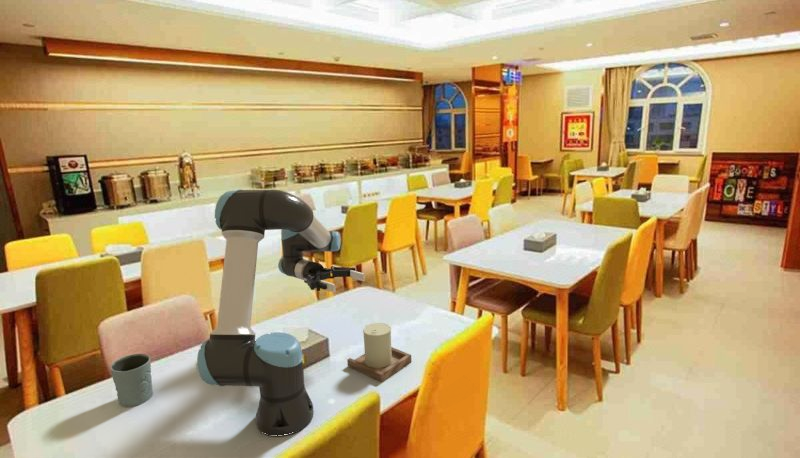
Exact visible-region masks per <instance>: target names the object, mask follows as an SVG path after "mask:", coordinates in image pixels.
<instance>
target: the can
mask: <svg viewBox="0 0 800 458" xmlns="http://www.w3.org/2000/svg"><path fill="white" fill-rule="evenodd" d="M391 327H392V326H391V325H389V324H386V323H383V322H373V323H369V324H367V325H365V326H364V328H363V329H362V331H363V342H364V343H363V345H364V346H363V347H364V348H363V349H364V354H365V364H366V365H367V366H369V367H372V368H383V367H386V366H388V365H390V364H391V362H392V352H391V347H392V331H391V330H392V328H391Z"/></svg>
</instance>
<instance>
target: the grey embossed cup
mask: <svg viewBox="0 0 800 458" xmlns="http://www.w3.org/2000/svg"><path fill="white" fill-rule="evenodd" d="M151 367H152V363H151V356H150V355H149V354H146V353H134V354H128V355H126V356H123V357H120V358H118V359H117V360H115V361H114V362H112V363H111V365H110V366H109V369H110V372H111V376H112V377H111V378H112V380H113V383H114V386H115V391H116V396H117V399H118V403H119V405H120V406H121V407H122V408H132V407H136V406H140V405H142V404H144V403H146V402H148V401H149V400H150V399H151V398H152V396H153V391H154V390H153V383H152V382H153V381H152V374H151V373H152V368H151Z"/></svg>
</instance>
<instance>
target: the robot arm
mask: <svg viewBox="0 0 800 458" xmlns="http://www.w3.org/2000/svg"><path fill="white" fill-rule="evenodd" d="M214 208H215V209H214V219H215V224H216V226H217V228H218V229H219V230H221V236H222V237H223V238H224V239H225V242H226V243H225V251H224V259H223V268H222V279H221V288H220V296H219V306H218V312H217V313H218V315H217V324H216V327H215V328H214V329H213V330H211V332H210V333H209V339H207V340H205V341H203V342H202V343H201V345H200V348H199V350H198V353H197V358H196V360H197V361H196V362H197V363H196V364H197V371H198V374H199V376H200V378H201V379H202V381H203V382H204V383H206V384H207V385H210V386H218V387H226V386H227V387H228V386H229V387H230V386H231V387H258V388H259V395H260V396H259V397H260V398H259V402H258V406H257V411H256V413H255V414H256V415H255V421H256V427H257V429H258V430H259V432H260V433H262V432H263V433H266V434H268V435H267V436H269V435H277V436H276V437H279V436H278V435H284V434H289V433H292V432H296V431H298V430H300V429H301V430H303V429H305V428H306V427H308V425H309V424H310V423H311V422H312V420H313V418H314V412H315V410H314V403H313V402H312V399H311V398H310V395H309V394H308V391H307V389H306V385H305V375H304V374H305V373H304V361H303V359H304V354H303V351H302V346H301V343H300V341H299V339H298V338H297V337H296V336H294V335H292V334H290V333H286V332H280V331H279V332H278V331H276V332H274V331H273V332H270V333H265V334H262V335H260V336H259V337H257V338H256V332H254V330H253V329H252V327H251V324H252V323H251V322H252V315H253V314H252V312H253V303H254V292H255V291H254V290H255V281H256V271H257V262H258V261H257V260H258V248H259V243H260V242H261V241H262V240H263V239H265V234H266V233H265V232H266V231H273V230H280V232H281V233H280V235H281V239H280V242H281V249H282V256H281V257H280V259H279V261H278V264H277V267H278V270H279V271H280V273H282V274H283V275H286V276H288V277H293V278H297V279H299V280H301V281H303V282H304V283H305V284H307V286H308V287H309V289H310V290H311V291H314V290H315V289H316V291H317V292H319V291H321V290H325V291H327V292H331V293H336V290H337V289H336V284H335V283H333V282H329V281H326V280H330V279H333V280H334V279H335V278H350V279H354V280H356V281H361V282H365V281H366V276H365V275H366V274H365V272H360V271H356V269H357V268H356V267H347V266H346V267H345V266H342V267H341V266H334V265H332V266H330V268H327V267H324V266H323V264H322V263H319V262H316V261H312V260H309V259H304V252H329V253H331V252H338V251H340V248H341V244H342V238H341V233H340V232H339V231H336V230H335V231H334V230H330V231H329V229H327V227H325V226H324V225H323V223H322V222H320V221H319V219H317V217H316V215H315V216H314V211H313V209H312V208H311V206H310V205H309V204H308V203H307V202H306V201H305V200H303V199H301V198H300V197H298V196H296V195H294V194H292V193H289V192H287V191H284V190H280V189H237V190H229V191H228V190H227V191H225V192H223V194H221V195H220V197H219V198H218V200H217V201H216V204H215V207H214ZM302 428H303V429H302ZM301 430H300V431H301ZM298 432H299V431H298ZM263 433H262V434H263ZM296 433H297V432H296ZM266 434H265V435H266Z"/></svg>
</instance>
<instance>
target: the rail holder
mask: <svg viewBox="0 0 800 458" xmlns="http://www.w3.org/2000/svg"><path fill="white" fill-rule="evenodd" d="M391 352H392V362H391V364H390V365H388V366H386V367H383V368H372V367H369V366H367V365H366V364H365V353H363V354H362V355H360V356H358V357H357V358H354V359H353V358H351V357H349V358H348V359H347V361H346V362H347V368H351V369H353V370H355V371H356V372H359V373H361V374H363V375H365V376H367V377H369V378H372V379H374V380H376V381H378V382H380V383H382V382H384V381H385V380H387V379H389V378H390V377H391V376H392V375H394V374H396V373H397V372H398V371H400V370H401V369H403V368H405V367H406V366H407V365H409V364H410V363H412V354H411V353H408V352H406V351H402V350H400V349H397V348H395V347H392V346H391Z"/></svg>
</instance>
